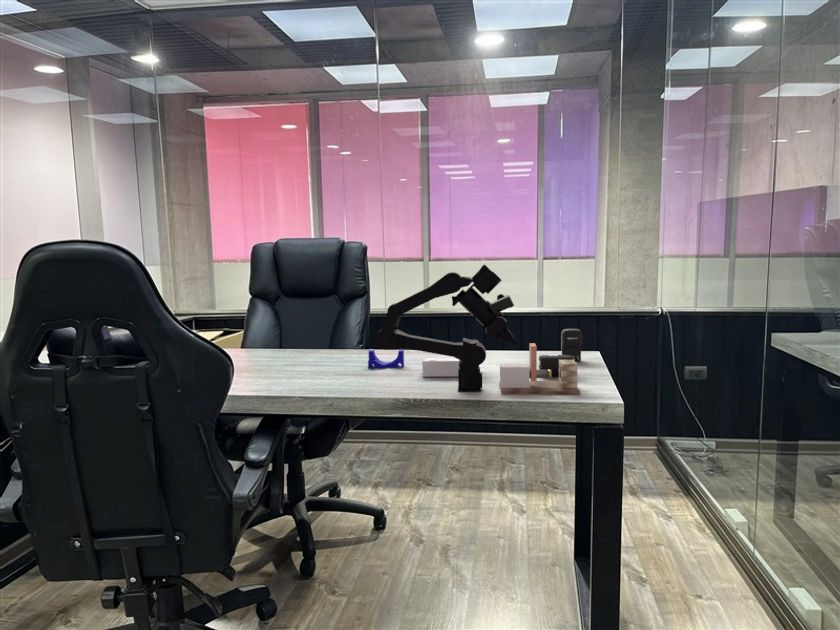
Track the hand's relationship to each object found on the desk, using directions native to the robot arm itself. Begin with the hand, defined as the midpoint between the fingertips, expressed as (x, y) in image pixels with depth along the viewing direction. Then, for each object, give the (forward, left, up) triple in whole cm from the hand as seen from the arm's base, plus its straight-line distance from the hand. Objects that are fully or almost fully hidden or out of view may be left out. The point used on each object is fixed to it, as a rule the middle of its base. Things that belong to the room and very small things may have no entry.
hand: (515, 343), depth 162 cm
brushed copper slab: (+3, 0, -10) cm, 11 cm away
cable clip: (-43, +31, -14) cm, 54 cm away
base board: (+6, 0, -13) cm, 15 cm away
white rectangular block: (0, 0, -13) cm, 13 cm away
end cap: (+14, +17, -14) cm, 26 cm away
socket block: (+15, 0, -13) cm, 20 cm away
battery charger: (+23, +40, -14) cm, 48 cm away
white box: (-19, +20, -14) cm, 31 cm away
